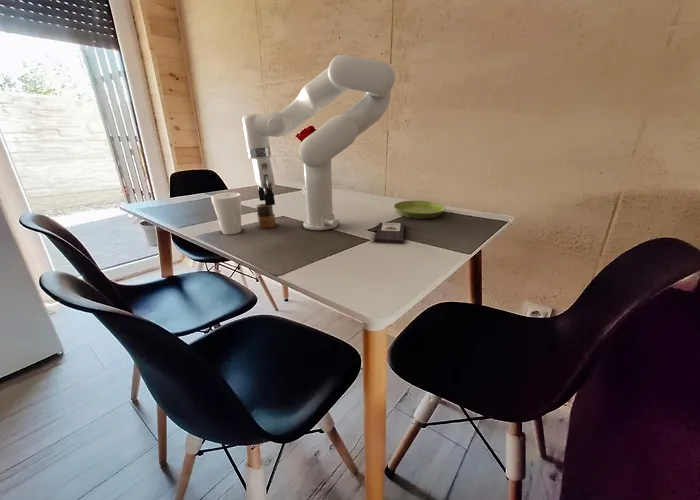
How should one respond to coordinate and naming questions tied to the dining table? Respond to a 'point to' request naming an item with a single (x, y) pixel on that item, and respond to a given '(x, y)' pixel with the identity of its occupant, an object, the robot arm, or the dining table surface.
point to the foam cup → (228, 211)
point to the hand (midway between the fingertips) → (267, 202)
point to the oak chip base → (267, 225)
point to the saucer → (419, 209)
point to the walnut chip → (264, 210)
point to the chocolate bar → (390, 233)
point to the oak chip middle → (266, 219)
